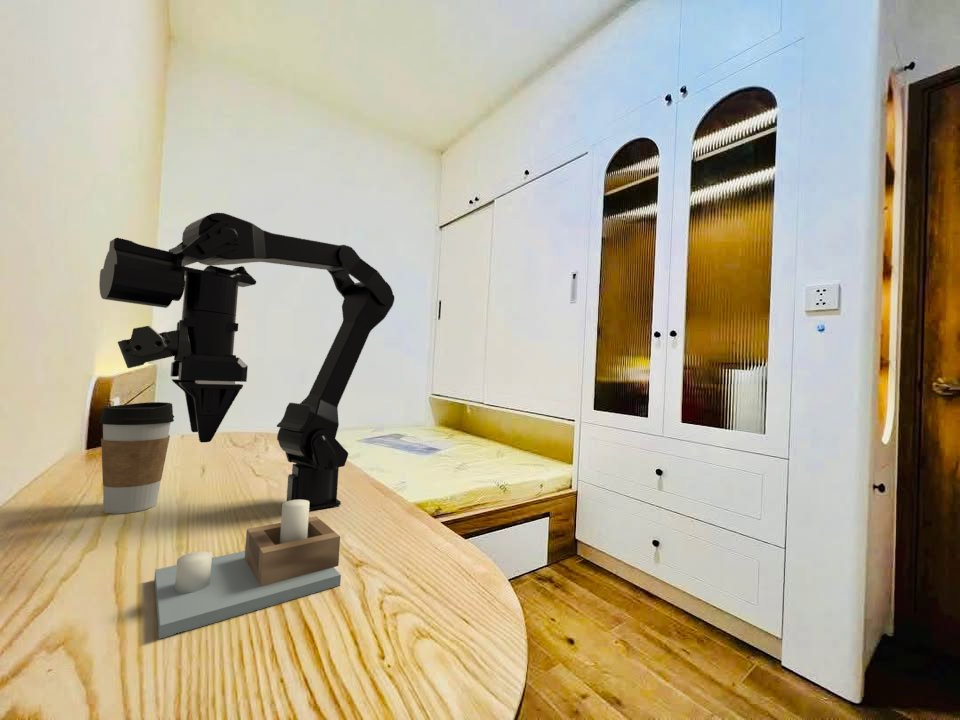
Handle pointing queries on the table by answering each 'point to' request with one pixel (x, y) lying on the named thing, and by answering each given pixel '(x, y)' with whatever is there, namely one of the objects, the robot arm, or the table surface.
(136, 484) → the coffee cup
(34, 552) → the table surface
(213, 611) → the post board
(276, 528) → the walnut ring
